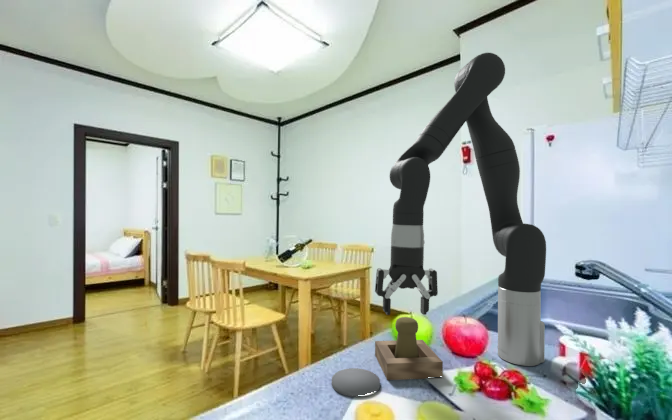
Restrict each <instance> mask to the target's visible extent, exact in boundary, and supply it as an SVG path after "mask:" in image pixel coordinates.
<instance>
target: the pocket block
mask: <svg viewBox="0 0 672 420" xmlns="http://www.w3.org/2000/svg"><path fill="white" fill-rule="evenodd" d="M416 341H417V349H418V358H395V357H394V356H395V349H396V342H397V340H375V341H374V356H375V358H376V360H377V362H378V364H379V366H380V369H381V370H382V373H383V374H384V377H385V379H386V380H387V381H399V380H400V381H401V380H423V379H424V380H425V379H426V378H428V377H440V376H444V374H443V373H444V372H443V371H444V369H443V367H444V362H443V360H442V359H441V358H440V357H439V356H438V355H437V354H436V353H435V352H434V350H433V349H432V348H431V347H430V346H429V345H428V344H427V343H426V342H425V341H424V340H423V339H416Z"/></svg>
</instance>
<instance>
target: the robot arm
mask: <svg viewBox="0 0 672 420" xmlns="http://www.w3.org/2000/svg"><path fill="white" fill-rule="evenodd" d="M505 74H506V66H505V63H504V61H503V59H502V58H501V57H500V56H499V55H498V54H495V53H493V52H483V53H481V54H478V55H476V56H474V57H473V58H472V59H471V60H470V61H468V62H467V63H466V64H465V65H464V66H463V67H462V68H461V69H460V70H458V72H457V73H456V75H455V77H454V91H455V92H454V94H453V95H452V96H451V98H449V100H448V101H447V102H446V103H445V104H444V105H443V107H442V108H441V109H439V110H438V111H437V113H436V114H435V115H434V116H433V117H432V118H431V119H430V120H429V122H428V123H427V124H426V125H425V127H424V128H423V130H422V131H421V133H420V134H419V135H418V137H416V139H415V140H414V142H413V143H412V144H411V145H410V146H409V147H408V148H407V149H406V150H405V151H404V152H403V153H402V154H401V155H400V156H399V157H398V159H396V161H395V162H394V163H393V165H392V167H391V169H390V171H389V181H390V183H391V184H392V186H393V187H394V188H396V189H398V190H400V193H399V197H398V199H397V200H396V201H395V202H394V204H393V207H392V208H393V209H392V228H391V234H390V235H391V236H390V267H389V268H388V269H382V268H380V267H379V268H377V269H376V275H375V286H374V287H375V288H374V292H375V293H376V295H377V296H378V297H382V310H383V312H384V313H385V314H386V315H387V316H390V315H391V309H392V308H391V307H392V306H391V304H392V303H391V301H392V299H391V296H392V295H393V294H394V293H395V292H396V291H397V290H398V289H412V290H414V289H416V290H418V292H419V293H420V294H421V296H420V308H419V309H420V313H421V314H422V315H425V316H426V315H427V314H428V312H429V311H430V298H432V297H437V296H438V294H439V293H438V273H437V272H438V271H437V270H435V269H433V268H429V269H424V261H425V259H424V258H425V257H424V255H425V254H424V253H425V252H424V251H425V249H424V248H425V232H424V231H425V230H424V209H425V208H424V207H425V204H426V201H427V197H428V192H429V188H430V183H431V171H430V166H429V165H430V164H432V163H433V162H436V161H437V160H439V158H440V157H441V156H442V155H443V154H444V152H445V151H446V150H447V148H448V146H450V144H451V142H452V141H453V140H454V138H455V137H456V136H457V134H458V133H459V132H460V130H461V128H462V127H463V126H464V125H465V123H466V125H467V129H468V134H469V137H470V141H471V144H472V148H473V152H474V153H473V154H474V158H475V162H476V165H477V169H478V173H479V177H480V180H481V184H482V189H483V192H484V196H485V200H486V202H487V203H486V204H487V206H488V207H487V208H488V212H489V218H490V219H489V220H490V226H491V234H492V241H493V244H494V248H495V249H496V251H497V252H498V254H500V255H501V256H503V257H505V261H504V262H505V263H504V264H505V266H504V271H503V272H502V273H500V274H499V275H498V277H497V356H498V357H499V358H501V359H502V360H504V361H506V362H509V363H511V364H515V365H517V366H518V365H519V366H525V367H534V366H538V365H540V364H541V363H545V354H546V353H545V349H546V348H545V341H546V340H545V339H546V338H545V336H546V334H545V332H546V331H545V330H546V329H545V325H546V324H545V322H544V321H542V319H541V318H542V316H541V315H542V311H541V308H542V307H541V306H542V305H541V299H542V298H541V297H542V296H541V295H542V293H541V290H542V283H543V282H544V279H545V277H546V276H545V275H546V264H547V263H546V261H547V259H546V258H547V242H546V237H545V235H544V232H543V231H542V230H541V229H540V228H539V227H538V226H535V225H534V224H530V223H524V222H523V220H522V217H521V212H520V209H519V205H518V193H519V191H518V190H519V184H520V175H521V173H520V172H521V168H520V161H519V158H518V157H519V156H518V154H517V149H516V146H515V143H514V141H513V139H512V138H511V136H510V135H509V134H508V133H507V131H506V130H505V129H504V128H503V127H502V126H501V125H500V124H499V123H498V122H497V121H496V119H495V117H494V116H493V114H492V111H491V108H490V104H489V101H488V100H489V99H488V96H489V95H490V94H491V93H493V91H495V90H496V89H497V88H498V87H499V86H500V85H501V84H502V82H503V80H504V78H505ZM387 276H389V278H391V280H390V281H389V282H388V284H387V285H386V287H385V289H384V280H385V279H386V278H387ZM424 277H425V278H426V279H428V282H427V283H428V290H427V289H426V287H425V286H424V284H423V282H422V280H423V279H424Z"/></svg>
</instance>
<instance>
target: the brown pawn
mask: <svg viewBox="0 0 672 420" xmlns="http://www.w3.org/2000/svg"><path fill="white" fill-rule="evenodd" d="M394 327H395V330H396V333H397V336H396V341H397V342H396V349H395V356H394V357H395V358H418V349H417V341H416V340H417V335H416V334H417V333H418V331H419V322H418V321H417V320H416V319H415V318H413V317H408V316H404V317H403V316H402V317H398V318H397V319H396V321H395V326H394Z"/></svg>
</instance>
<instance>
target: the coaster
mask: <svg viewBox="0 0 672 420" xmlns="http://www.w3.org/2000/svg"><path fill="white" fill-rule="evenodd" d="M331 387H332V389H333V390H334V391H335V392H337V393H339V394H340V395H343V396H345V397H351V398H357V397H356V396H358V395H365V394H367V393H371V392H374V391H377V392H378V391H379V390H380V387H381V379H380V377H379V376H378V375H377V374H376V373H375V372H372V371H371V370H367V369H364V368H358V367H357V368H354V367H352V368H344V369H341V370H339V371H337V372H335V373H334V374H333V375H332V377H331Z"/></svg>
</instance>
